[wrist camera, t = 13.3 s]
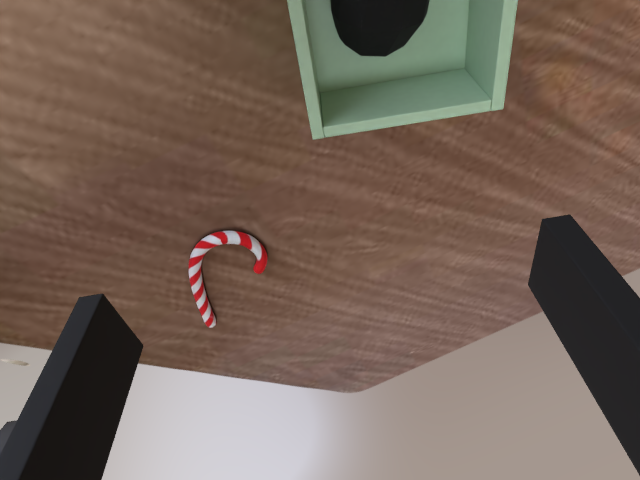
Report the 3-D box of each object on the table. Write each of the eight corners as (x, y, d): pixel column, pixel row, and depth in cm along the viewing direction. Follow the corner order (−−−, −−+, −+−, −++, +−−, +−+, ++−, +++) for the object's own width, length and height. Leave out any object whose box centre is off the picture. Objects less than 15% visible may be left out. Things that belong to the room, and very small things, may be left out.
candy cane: (181, 325, 49) (191, 228, 40) (183, 316, 50) (194, 220, 41) (247, 334, 50) (273, 243, 41) (248, 325, 51) (273, 235, 42)
